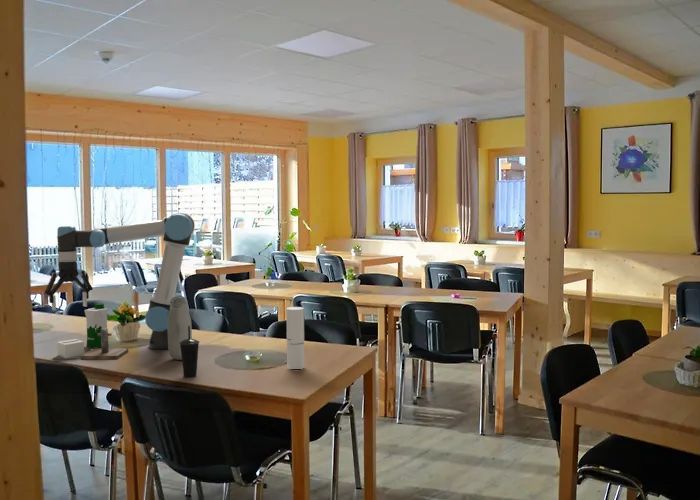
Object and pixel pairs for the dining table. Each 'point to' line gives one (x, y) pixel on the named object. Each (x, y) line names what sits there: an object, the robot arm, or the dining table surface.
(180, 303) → the grey bottle
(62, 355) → the white drawer box
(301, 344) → the cylindrical container
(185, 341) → the drinking cup
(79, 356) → the mat
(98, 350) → the post stand
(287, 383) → the dining table surface
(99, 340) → the milk carton
